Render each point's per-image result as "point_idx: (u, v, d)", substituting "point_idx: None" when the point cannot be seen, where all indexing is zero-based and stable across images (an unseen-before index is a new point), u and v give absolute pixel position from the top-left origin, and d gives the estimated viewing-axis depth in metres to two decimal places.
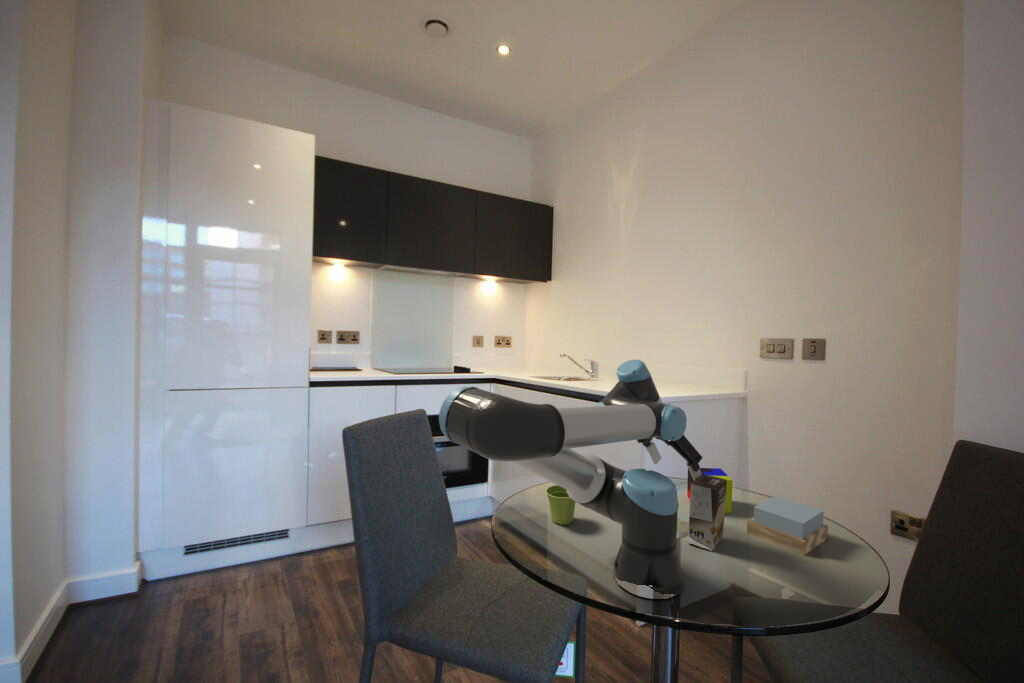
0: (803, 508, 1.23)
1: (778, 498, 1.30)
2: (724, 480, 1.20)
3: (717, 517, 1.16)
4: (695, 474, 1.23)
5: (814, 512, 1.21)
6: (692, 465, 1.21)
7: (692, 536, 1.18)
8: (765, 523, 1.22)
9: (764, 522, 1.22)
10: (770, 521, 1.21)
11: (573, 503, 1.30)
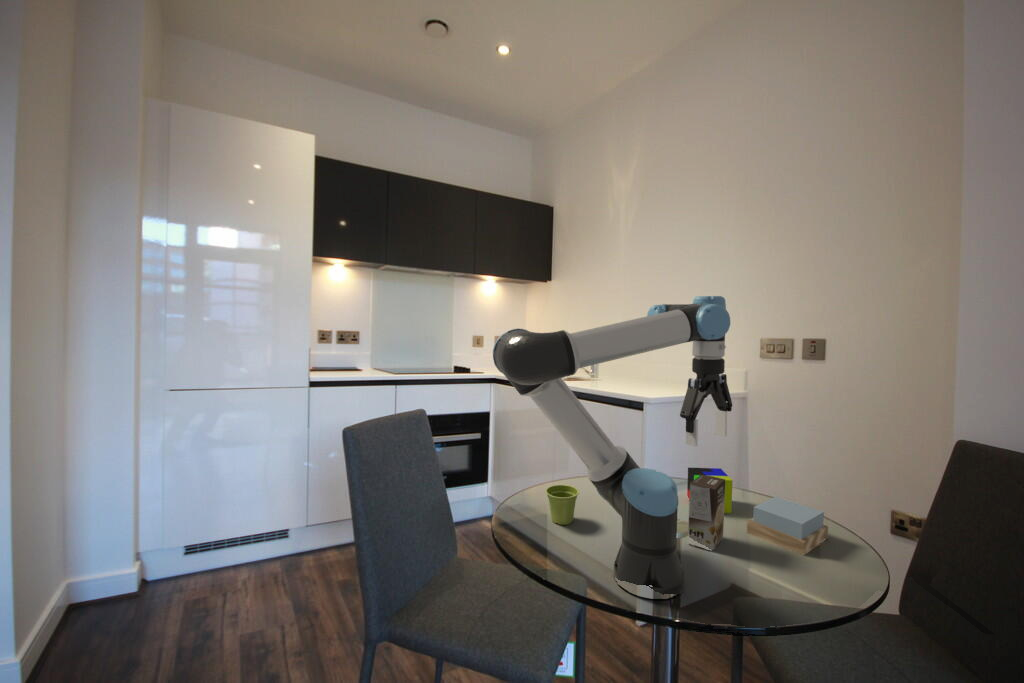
0: (803, 508, 1.23)
1: (779, 498, 1.30)
2: (723, 480, 1.21)
3: (716, 516, 1.17)
4: (687, 437, 1.15)
5: (814, 512, 1.21)
6: None
7: (692, 536, 1.19)
8: (765, 523, 1.22)
9: (764, 522, 1.22)
10: (770, 521, 1.21)
11: (573, 503, 1.30)
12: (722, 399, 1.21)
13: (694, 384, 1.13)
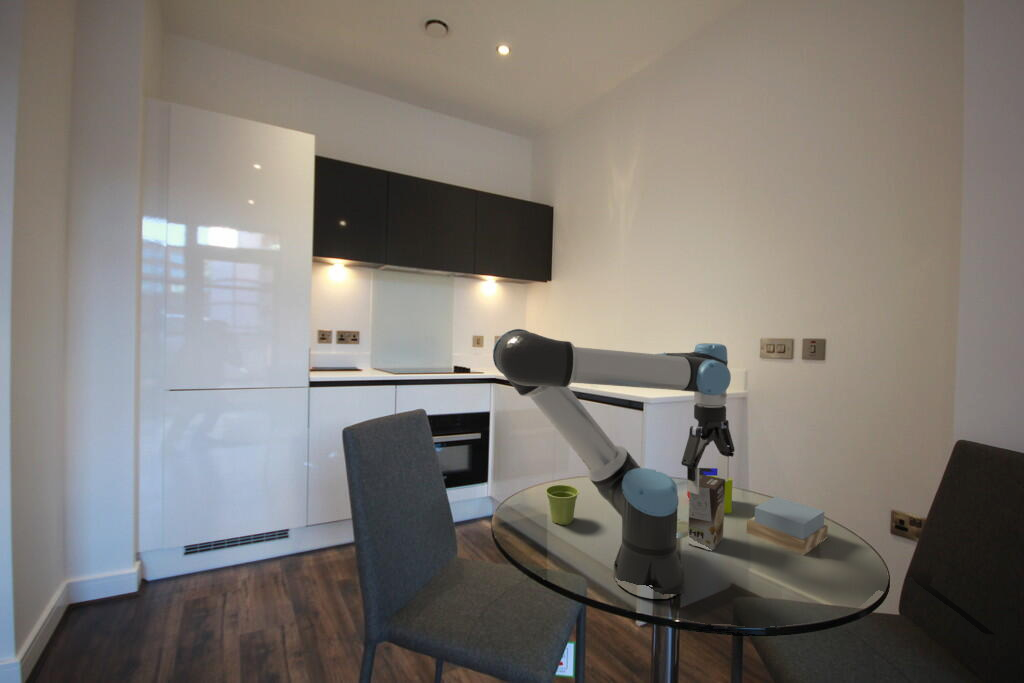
0: (804, 508, 1.23)
1: (779, 498, 1.29)
2: (722, 480, 1.21)
3: (716, 516, 1.17)
4: (689, 484, 1.16)
5: (815, 512, 1.21)
6: None
7: (692, 536, 1.19)
8: (766, 524, 1.22)
9: (765, 523, 1.22)
10: (771, 521, 1.21)
11: (573, 503, 1.30)
12: (724, 445, 1.21)
13: (695, 432, 1.14)
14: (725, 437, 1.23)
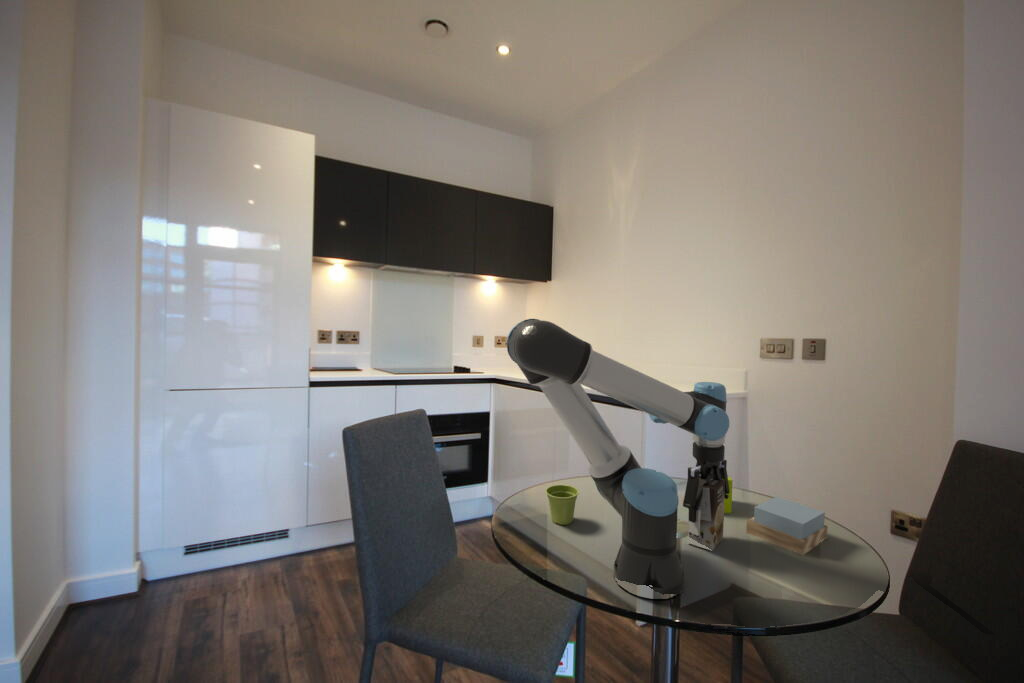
0: (804, 509, 1.23)
1: (780, 499, 1.29)
2: (722, 480, 1.21)
3: (716, 516, 1.17)
4: (690, 525, 1.18)
5: (815, 513, 1.21)
6: None
7: (692, 536, 1.19)
8: (765, 523, 1.22)
9: (764, 522, 1.22)
10: (770, 521, 1.21)
11: (573, 503, 1.30)
12: None
13: (694, 474, 1.15)
14: (722, 477, 1.23)
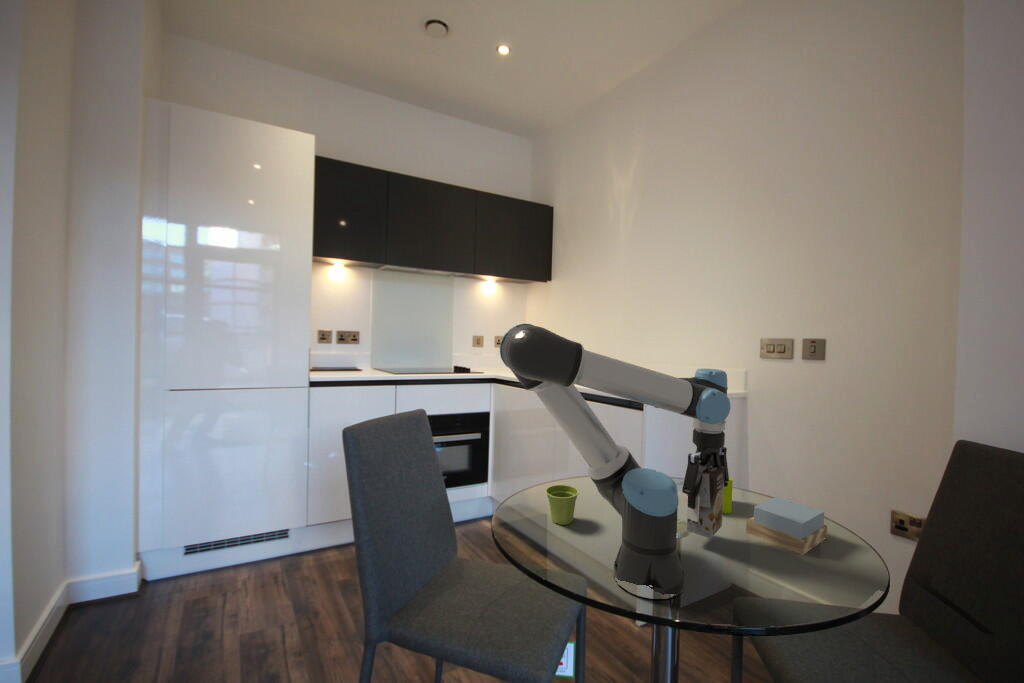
0: (803, 508, 1.23)
1: (779, 498, 1.30)
2: (722, 467, 1.20)
3: (715, 503, 1.16)
4: (689, 511, 1.17)
5: (814, 512, 1.21)
6: None
7: (691, 523, 1.18)
8: (765, 523, 1.22)
9: (764, 522, 1.22)
10: (770, 521, 1.21)
11: (573, 503, 1.30)
12: None
13: (694, 460, 1.15)
14: (721, 465, 1.23)
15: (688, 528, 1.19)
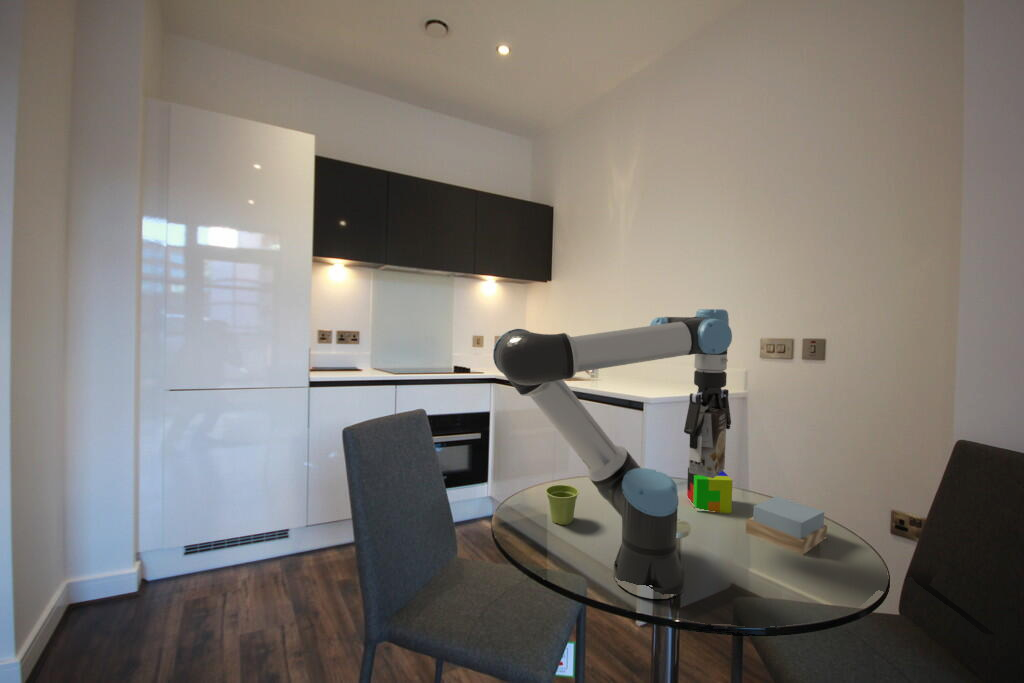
0: (803, 508, 1.23)
1: (779, 498, 1.30)
2: (724, 409, 1.19)
3: (718, 443, 1.15)
4: (691, 452, 1.16)
5: (814, 512, 1.21)
6: None
7: (693, 465, 1.17)
8: (764, 522, 1.23)
9: (763, 521, 1.23)
10: (769, 520, 1.21)
11: (573, 503, 1.30)
12: None
13: (695, 399, 1.14)
14: None
15: (690, 470, 1.18)
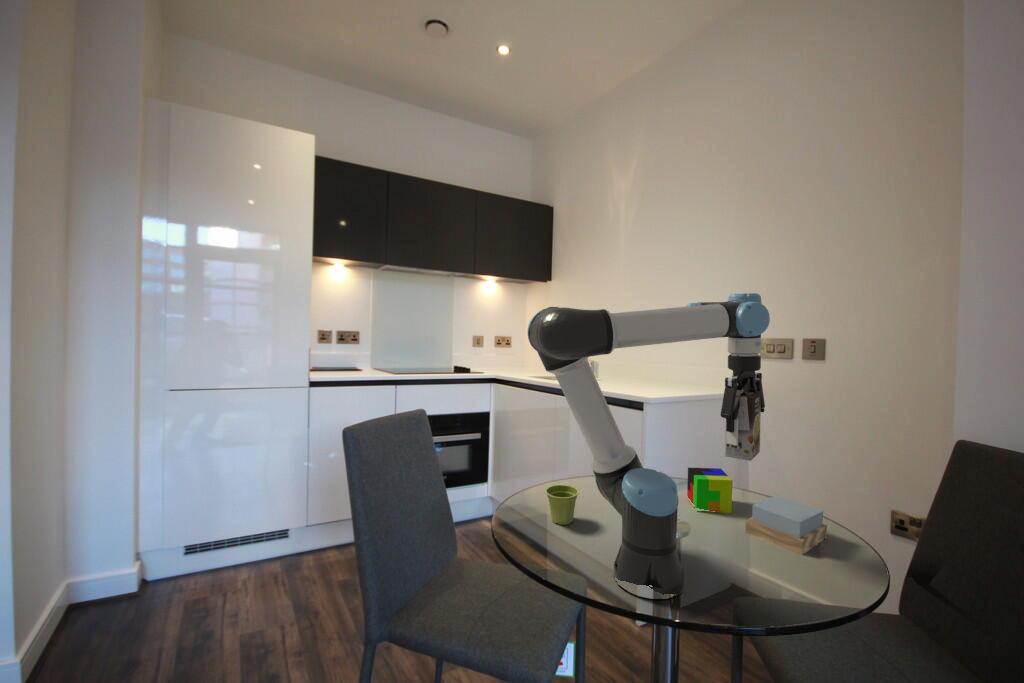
0: (802, 507, 1.24)
1: (778, 497, 1.30)
2: (758, 392, 1.20)
3: (754, 426, 1.16)
4: (728, 436, 1.17)
5: (813, 511, 1.21)
6: None
7: (729, 448, 1.18)
8: (763, 521, 1.23)
9: (762, 520, 1.23)
10: (768, 519, 1.22)
11: (573, 503, 1.30)
12: None
13: (731, 383, 1.15)
14: (757, 391, 1.23)
15: (727, 453, 1.19)
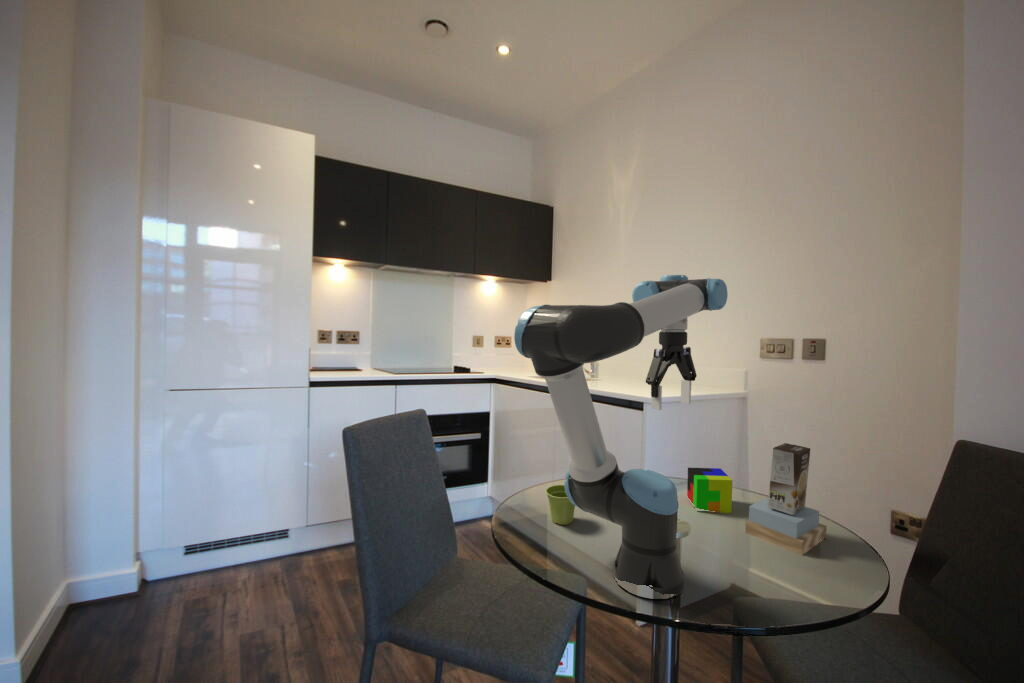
0: None
1: None
2: (808, 448, 1.23)
3: (799, 482, 1.19)
4: (653, 401, 1.28)
5: (809, 512, 1.21)
6: None
7: (772, 500, 1.22)
8: (760, 522, 1.23)
9: (759, 521, 1.23)
10: (765, 520, 1.22)
11: None
12: (686, 369, 1.33)
13: (659, 353, 1.27)
14: (688, 363, 1.35)
15: (769, 504, 1.22)
